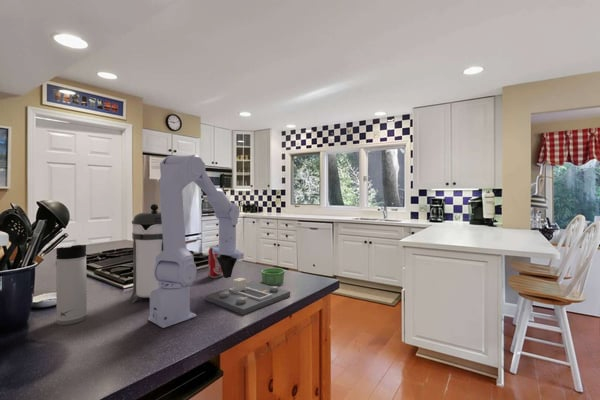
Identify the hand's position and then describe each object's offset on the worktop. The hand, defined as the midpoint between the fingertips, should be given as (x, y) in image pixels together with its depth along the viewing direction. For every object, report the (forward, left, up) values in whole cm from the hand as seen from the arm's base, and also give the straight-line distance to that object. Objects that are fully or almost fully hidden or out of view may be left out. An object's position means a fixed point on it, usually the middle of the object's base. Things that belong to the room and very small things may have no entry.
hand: (227, 277), depth 104 cm
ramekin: (+18, -5, -5) cm, 19 cm away
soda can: (+9, +18, -5) cm, 21 cm away
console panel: (0, -11, -5) cm, 12 cm away
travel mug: (-41, +11, -5) cm, 43 cm away
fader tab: (0, -7, -3) cm, 7 cm away
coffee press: (-18, +14, -5) cm, 24 cm away
